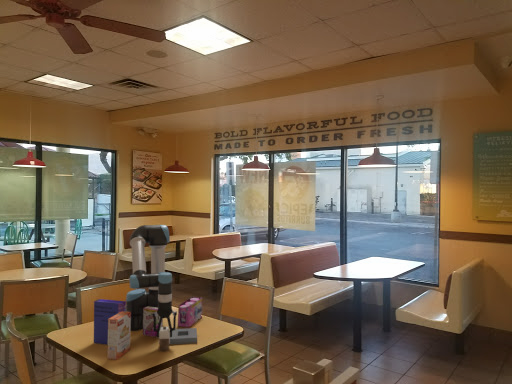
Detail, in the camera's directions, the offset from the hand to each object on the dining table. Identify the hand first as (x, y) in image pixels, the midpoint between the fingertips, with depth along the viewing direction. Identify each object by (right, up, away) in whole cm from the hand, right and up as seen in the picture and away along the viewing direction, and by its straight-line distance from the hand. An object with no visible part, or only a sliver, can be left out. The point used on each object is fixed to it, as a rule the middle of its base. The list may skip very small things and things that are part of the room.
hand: (164, 343), depth 217 cm
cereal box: (-32, -2, +5) cm, 33 cm away
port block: (+8, -2, +13) cm, 16 cm away
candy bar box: (-11, -3, +18) cm, 22 cm away
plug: (0, -2, 0) cm, 2 cm away
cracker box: (-22, -2, -10) cm, 24 cm away
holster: (0, -2, 0) cm, 2 cm away
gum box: (+7, -3, +44) cm, 45 cm away
